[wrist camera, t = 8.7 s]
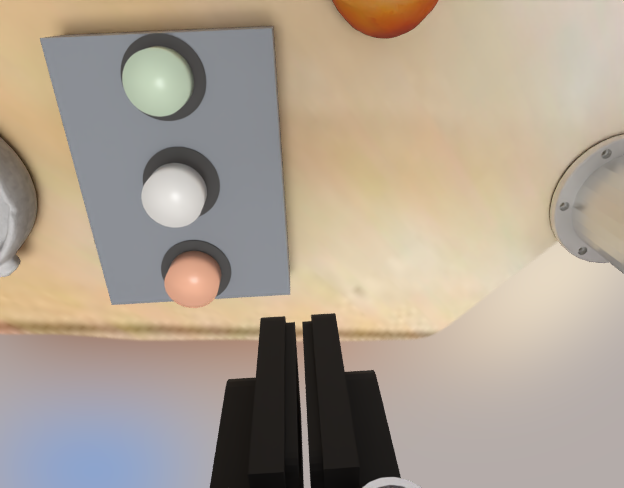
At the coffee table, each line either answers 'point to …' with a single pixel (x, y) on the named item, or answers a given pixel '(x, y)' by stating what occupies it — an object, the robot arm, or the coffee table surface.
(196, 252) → the terracotta button
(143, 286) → the console
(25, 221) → the dish
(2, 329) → the coffee table surface
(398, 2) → the fruit
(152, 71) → the sage button
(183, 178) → the white button
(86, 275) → the coffee table surface
